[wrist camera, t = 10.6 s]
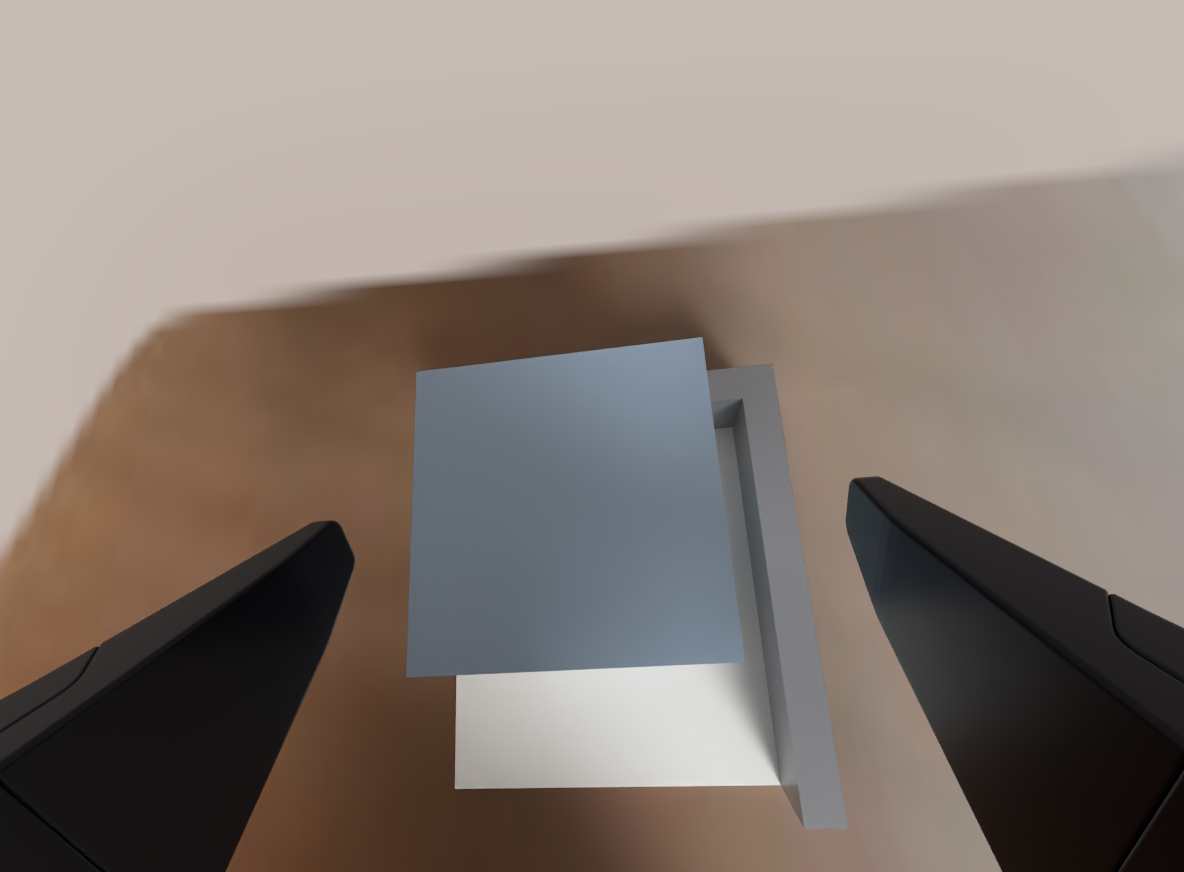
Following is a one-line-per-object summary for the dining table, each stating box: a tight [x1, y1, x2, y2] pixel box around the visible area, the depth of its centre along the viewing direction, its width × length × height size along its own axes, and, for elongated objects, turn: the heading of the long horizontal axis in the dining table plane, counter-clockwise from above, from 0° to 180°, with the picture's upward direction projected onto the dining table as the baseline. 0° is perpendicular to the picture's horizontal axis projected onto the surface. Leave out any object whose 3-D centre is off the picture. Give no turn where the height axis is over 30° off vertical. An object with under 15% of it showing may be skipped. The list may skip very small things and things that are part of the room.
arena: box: [455, 364, 848, 829], centre depth 17 cm, size 12×11×4 cm
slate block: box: [406, 337, 745, 678], centre depth 13 cm, size 5×4×11 cm
